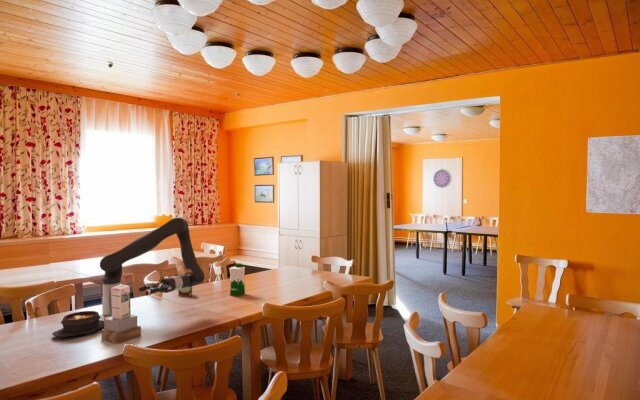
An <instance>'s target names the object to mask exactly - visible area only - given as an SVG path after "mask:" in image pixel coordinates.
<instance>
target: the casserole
mask: <svg viewBox="0 0 640 400" xmlns="http://www.w3.org/2000/svg"><path fill="white" fill-rule="evenodd" d="M101 316H102V315H100V314H99V312H98V311H96V310H85V311H84V310H83V311H82V310H81V311H78V312H77V311H75V312H72V313H69V314H66V315H64V316H63V317H62V320H61V321H60V324H61V325H62V328H60V329H58V330H56V331H54V332H52V334H51V335H52V336H53V337H58V338H67V337H68V338H69V337H72V336H77V337H78V336H84V335H88V334H91V333H94V332H95V331H98V330H100V329H102V328H104V320H101Z"/></svg>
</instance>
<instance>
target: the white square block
mask: <svg viewBox="0 0 640 400" xmlns="http://www.w3.org/2000/svg"><path fill="white" fill-rule="evenodd" d="M103 321H104V326H103V329H104V330H109V331H113V332H117V333H119V332H122V331H125V330H128V329H131V328H134V327H137V326H138V315H135V314H131V315H130V316H128V317H125V318H123V319H116V318H112V316H109V317H105V318H104V319H103Z"/></svg>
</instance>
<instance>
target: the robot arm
mask: <svg viewBox="0 0 640 400" xmlns="http://www.w3.org/2000/svg"><path fill="white" fill-rule="evenodd" d="M189 227H190V226H189V223H188V221H187V220H186V219H184V218H182V217H178V216H177V217H172V218H171V219H169V220H168V221H167V222H164V224H162V225H160V226H159V227H158V228H156V229H154V230H152V231H149V232H147V233H145V234H144V235H142V236H140V237H138V238H136V239H135V240H133V241H131V242H130V243H128V244H127V245H126V246H124V247H122V248H121V249H119V250H118V251H115V252H113V253H110V254H107V255H104V257H102V258H101V259H100V261H99V267H100V269H101V271H103V272H104V276H103V278H102V297H101V300H102V301H101V302H102V305H101V309H102V315H104V316H112V299H111V288H112V287H115V286H119V285H122V277H123V264H125V263H127V262H128V261H131V260H133V259H135V258H138V257H140V256H143V255H145V254H146V253H149V252H150V251H152V250H154V249H155V248H157V246H159V245H160V243H161V242H163V241H164V240H166V239H167V238H169V237H171V236H173V235H176V236H177V239H178V241H179V244H180V245H179V246H180V254H181V259H182V262H183V265H184V268H185V269H186V270H190V271H191V272H192V273H189V274H180V275H176V276H175V275H174V276H170V277H169V276H168V277H164V278H162V279H161V280H160V281H159V282H149V283H146V284H145V283H144V284H143V285H142V286H139V287H138V292H144V291H149V293H150V294H155V293H156V294H157V293H159V294H160V293H163V294H169V293H172V292H174V291H175V292H176V291H178V289H182V288H185V287H192V288H193V287H195V286H197V285H199V284H202V283H203V282H204V281H205V273H204V271H203V269H202V268H201V266H200V264H198V261H197V257H196V254H195V250H194V248H193V245H192V244H193V243H192V240H191V236H190V229H189Z"/></svg>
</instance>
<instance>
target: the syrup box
mask: <svg viewBox="0 0 640 400" xmlns="http://www.w3.org/2000/svg"><path fill="white" fill-rule="evenodd" d="M130 289H131V287H130V285H128V284H121V285H119V286H115V287H112V288H111V299H112V315H111V317H112V318H116V319H123V318H125V317H128V316H130V315H132V314H131V313H132V312H131V290H130Z"/></svg>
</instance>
